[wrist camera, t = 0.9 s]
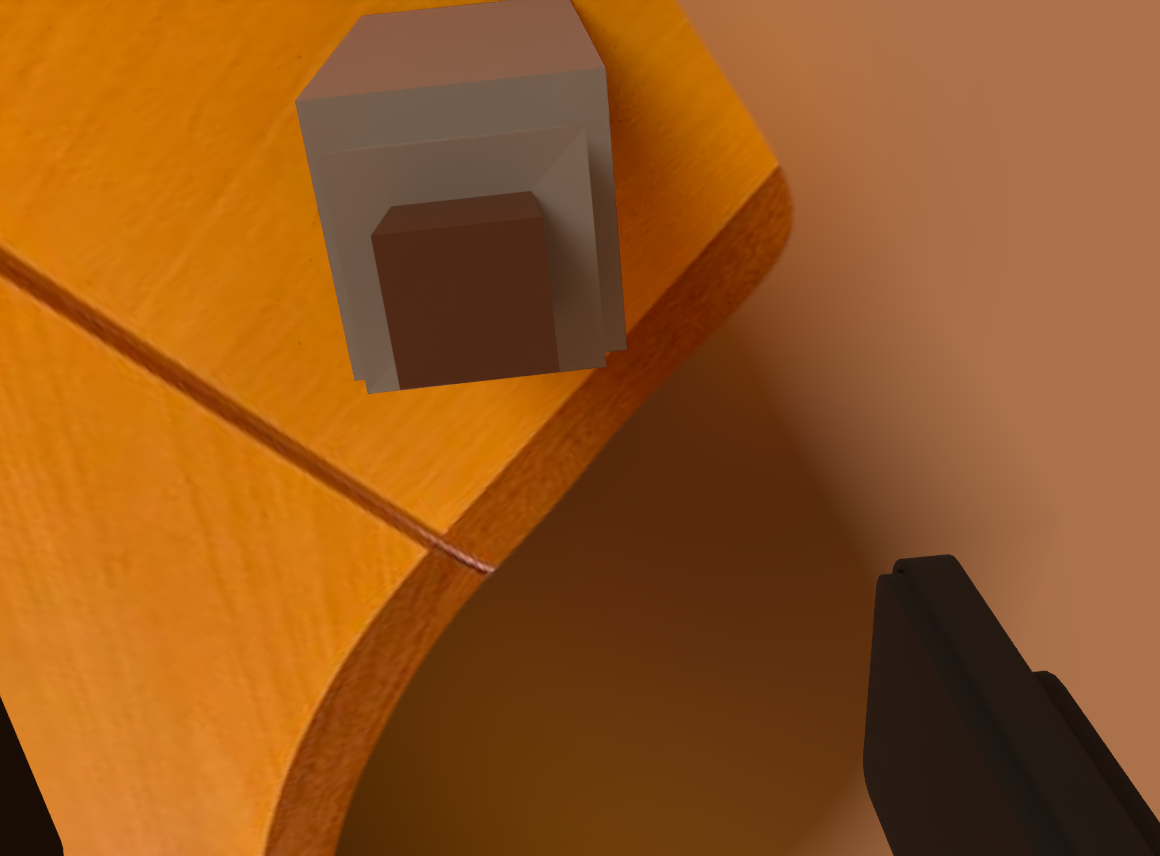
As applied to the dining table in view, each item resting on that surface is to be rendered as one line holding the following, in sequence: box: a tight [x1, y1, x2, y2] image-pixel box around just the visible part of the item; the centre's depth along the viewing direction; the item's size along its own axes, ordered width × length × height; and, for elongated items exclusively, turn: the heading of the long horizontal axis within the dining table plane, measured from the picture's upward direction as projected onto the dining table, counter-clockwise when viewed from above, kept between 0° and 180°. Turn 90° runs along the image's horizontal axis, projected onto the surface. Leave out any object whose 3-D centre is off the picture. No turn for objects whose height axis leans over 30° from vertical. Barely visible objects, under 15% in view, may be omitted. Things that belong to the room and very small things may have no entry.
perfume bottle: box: [295, 0, 627, 394], centre depth 29 cm, size 7×7×18 cm
